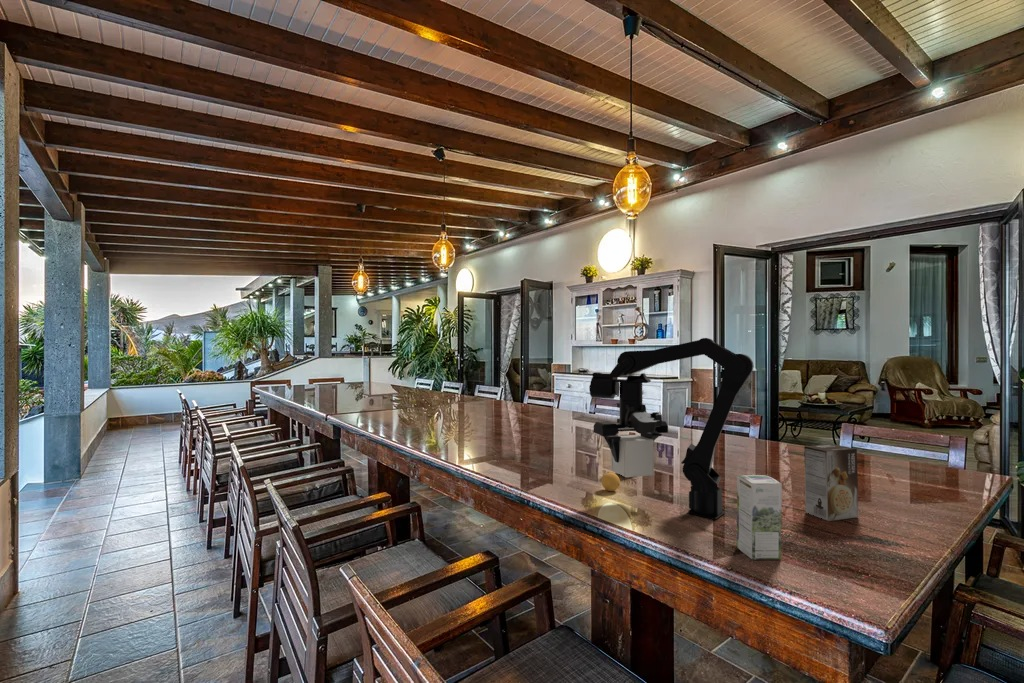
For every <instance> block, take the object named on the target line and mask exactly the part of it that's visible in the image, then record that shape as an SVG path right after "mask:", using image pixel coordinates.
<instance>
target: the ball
mask: <svg viewBox="0 0 1024 683" xmlns="http://www.w3.org/2000/svg"><path fill="white" fill-rule="evenodd" d="M620 484H621V480H620V477H619V475H618V474H617V473H616V472H613V471H611V472H606V473H605V474H604V475H603V476H602V477H601V486H602V487H603V489H605V490H606V491H608V492H614V491H617V490H618V489H619V487H620V486H621V485H620Z"/></svg>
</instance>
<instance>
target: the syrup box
mask: <svg viewBox="0 0 1024 683" xmlns="http://www.w3.org/2000/svg"><path fill="white" fill-rule="evenodd" d="M782 488H783V486H782V483H781V482H779V480H776V479H775V478H773V477H771V476H768V475H763V474H762V475H757V474H755V475H754V474H752V475H751V474H750V475H748V474H747V475H743V474H742V475H737V476H736V548H737V549H738V550H740V551H741V552H742V553H743V554H744V555H745V556H747V557H748V558H749V559H750V560H756V561H758V560H759V561H760V560H761V561H762V560H764V561H765V560H767V561H769V560H782V504H783V503H782V502H783V501H782V499H783V498H782V495H783V494H782V493H783V492H782Z"/></svg>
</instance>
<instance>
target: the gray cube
mask: <svg viewBox="0 0 1024 683" xmlns="http://www.w3.org/2000/svg"><path fill="white" fill-rule="evenodd" d="M626 435H627V436H620V435H619V436H620V437H621V438H620V440H619V462H615V460H614V457H613V455H612V452H611V451H610V471H611V472H612V473H615V474H617V475H619V474H620V475H619V476H621V475H622V477H625V478H635V477H636V478H637V477H648V476H654V475H655V472H654V471H655V470H654V467H655V466H654V461H655V460H654V454H655V453H654V450H655V448H654V442H653V439H649V438H646V437H642V436H641V435H640V434H639V435H638V434H626Z"/></svg>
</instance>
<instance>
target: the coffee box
mask: <svg viewBox="0 0 1024 683" xmlns="http://www.w3.org/2000/svg"><path fill="white" fill-rule="evenodd" d="M803 450H804V451H803V452H804V491H805V492H804V493H805V495H804V496H805V501H804V502H805V514H808V513H809V515H811V516H813V515H814V517H815V518H819V519H821V518H822V520H824V521H827V522H832V521H838V520H839V521H841V520H847V519H856V518H859V488H858V487H859V482H858V480H859V477H858V448H854V447H849V446H844V445H839V444H833V443H832V444H816V445H804V447H803Z"/></svg>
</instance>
